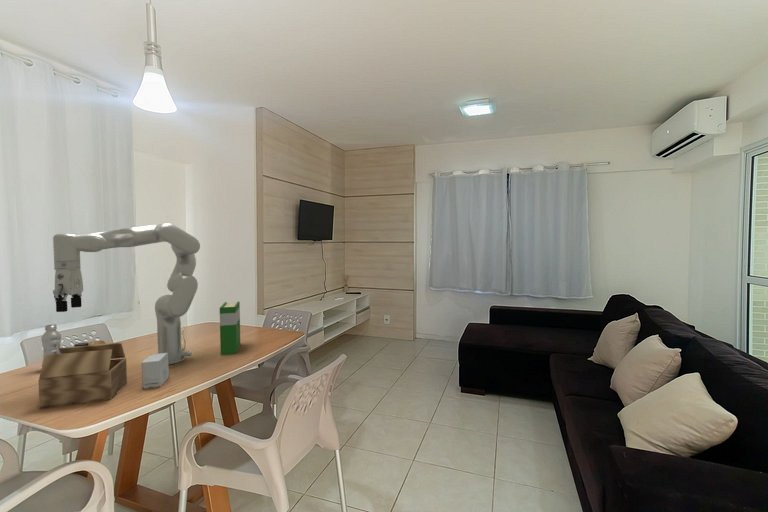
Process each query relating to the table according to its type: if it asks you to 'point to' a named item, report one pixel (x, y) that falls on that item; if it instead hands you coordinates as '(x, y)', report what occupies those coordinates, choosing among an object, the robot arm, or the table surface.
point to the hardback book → (230, 328)
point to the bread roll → (96, 342)
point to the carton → (83, 386)
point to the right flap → (116, 349)
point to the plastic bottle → (51, 341)
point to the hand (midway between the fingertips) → (69, 309)
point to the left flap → (75, 363)
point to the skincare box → (155, 370)
